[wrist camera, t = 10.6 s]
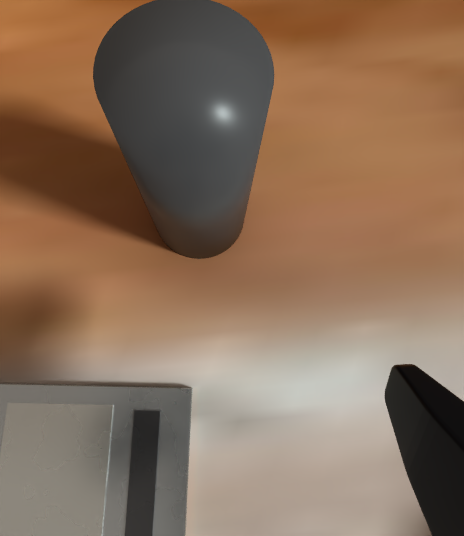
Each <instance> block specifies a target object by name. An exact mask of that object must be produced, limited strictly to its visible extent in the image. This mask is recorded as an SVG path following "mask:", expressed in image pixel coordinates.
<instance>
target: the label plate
mask: <svg viewBox="0 0 464 536" xmlns="http://www.w3.org/2000/svg"><path fill="white" fill-rule="evenodd" d="M191 403H192V388H177V387H135V386H93V385H51V384H9V383H0V536H185V531H186V509H187V488H188V467H189V445H190V424H191Z"/></svg>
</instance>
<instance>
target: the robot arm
mask: <svg viewBox="0 0 464 536" xmlns="http://www.w3.org/2000/svg"><path fill="white" fill-rule="evenodd" d="M385 402H386V406H387V409H388V412H389V416H390V419H391V423H392V426H393V429H394V433H395V436H396V439H397V443H398V446H399V449H400V453H401V456H402V460H403V463H404V466H405V469H406V472H407V475H408V478H409V480H410V483H411V485H412V488H413V490H414V493H415V495H416V498H417V500H418V502H419V505H420V507H421V510H422V512H423V515H424V517H425V519H426V522H427V524H428V527H429V529H430V531H431V534H432V536H464V401H462V400H461V399H460V398H458V397H457V396H456V395H454V394H453V393H452V392H450V391H449V390H448V389H446V388H445V387H444V386H442V385H441V384H440V383H438V382H437V381H436V380H434V379H433V378H432V377H430V376H429V375H428V374H426V373H425V372H424V371H422V370H421V369H420V368H418V367H417V366H415V365H412V364H403V365H394V366H393V367H392V369H391V372H390V375H389V379H388V382H387V386H386V389H385Z"/></svg>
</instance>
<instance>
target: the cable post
mask: <svg viewBox="0 0 464 536" xmlns="http://www.w3.org/2000/svg"><path fill="white" fill-rule="evenodd" d="M93 79H94V87H95V91H96V94H97V98H98V100H99V102H100V104H101V107H102V109H103V111H104V113H105V115H106V118H107V120H108V122H109V124H110V127H111V129H112V131H113V133H114V135H115V138H116V140H117V142H118V144H119V146H120V149H121V151H122V153H123V155H124V157H125V160H126V162H127V164H128V166H129V168H130V171H131V173H132V175H133V177H134V179H135V182H136V184H137V186H138V188H139V191H140V193H141V195H142V197H143V199H144V202H145V204H146V206H147V208H148V210H149V213H150V215H151V217H152V219H153V221H154V224H155V226H156V228H157V230H158V232H159V235H160V237H161V238H162V240H163V241H164V242H165V243H166V245H167V246H168V247H170V248H171V249H172V250H173V251H175V252H176V253H178V254H180V255H183V256H186V257H190V258H197V259H201V258H209V257H213V256H216V255H218V254H221V253H222V252H224V251H226V250H227V249H228V248H230V247H231V246H232V245H233V244H234V243H235V241H236V240H237V238H238V237H239V235H240V233H241V230H242V227H243V223H244V218H245V214H246V209H247V204H248V200H249V195H250V191H251V186H252V181H253V177H254V172H255V168H256V163H257V158H258V154H259V149H260V145H261V140H262V135H263V131H264V126H265V122H266V117H267V112H268V108H269V103H270V99H271V94H272V89H273V85H274V67H273V61H272V57H271V54H270V51H269V49H268V46H267V44H266V42H265V41H264V39H263V37H262V36H261V34H260V33H259V32H258V30H257V29H256V28H255V27H254V26H253V25H252V24H251V23H250V22H249V21H248V20H247V19H246V18H244V17H243V16H242V15H240V14H239V13H237V12H236V11H234V10H232V9H231V8H229V7H226V6H224V5H222V4H220V3H217V2H214V1H211V0H155V1H152V2H149V3H146V4H144V5H142V6H139V7H137V8H135V9H133V10H132V11H130V12H129V13H127V14H126V15H124V16H123V17H122V18H121V19H119V20H118V21H117V22H116V23H115V24H114V25H113V26H112V27H111V28H110V29H109V31H108V32H107V34H106V35H105V37H104V38H103V40H102V42H101V44H100V46H99V48H98V51H97V54H96V57H95V62H94V67H93Z"/></svg>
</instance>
